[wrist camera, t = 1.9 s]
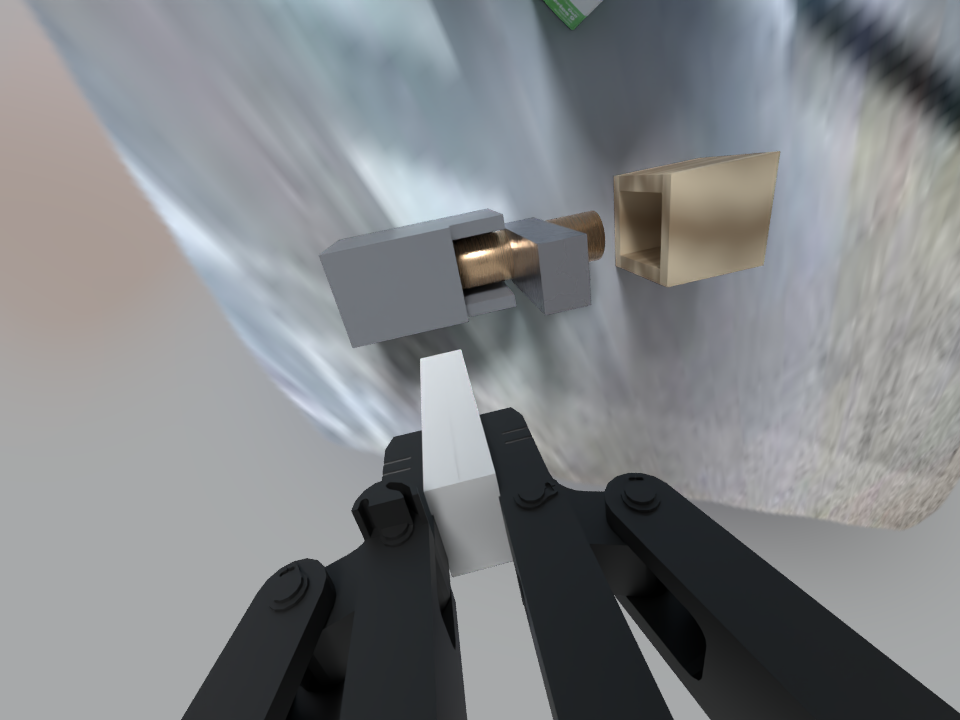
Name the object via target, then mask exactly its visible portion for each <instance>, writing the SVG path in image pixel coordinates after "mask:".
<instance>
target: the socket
mask: <svg viewBox="0 0 960 720" xmlns="http://www.w3.org/2000/svg"><path fill="white" fill-rule="evenodd" d="M779 157H780V151H777V152H765V153H753V154H741V155H729V156H717V157H705V158H697V159H692V160H687V161H682V162H678V163H673V164H668V165H663V166H659V167H654V168H649V169H644V170H640V171H635V172H630V173H625V174H620V175H616V176H614V215H615V257H616V266H617V267H620V268H622V269H625V270H627V271H629V272H632V273H634V274H636V275H639V276H641V277H644V278H646V279H648V280H651V281H653V282H655V283H658V284H660V285H663V286H665V287H671V286H676V285H680V284H684V283H689V282H693V281H698V280H702V279H706V278H711V277H715V276H719V275H724V274H728V273H732V272H737V271H741V270H746V269H750V268H754V267H759V266H763V265H764V258H765V252H766V245H767V238H768V231H769V224H770V218H771V211H772V204H773V197H774V191H775V184H776V177H777V170H778V163H779Z"/></svg>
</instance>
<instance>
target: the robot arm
mask: <svg viewBox="0 0 960 720" xmlns="http://www.w3.org/2000/svg"><path fill="white" fill-rule="evenodd" d="M420 377H421V415H422V430H421V431H417V432H413V433H408V434H404V435H400V436H396V437H393V439H392V440H391V442H390V444H389V445H388V447H387V448H386V450H385V457H384V467H383V477H382V481H381V482H378V483H375V484H374V485H372V486H371V487H369V488H368V489H366V490H365V491H364V492H363V493H362V494H361V495H360V496H359V497H358V499H357V500H356V501H355V503H354V506H353V508H352V510H351V511H352V513H353V516H354V518H355V520H356V522H357V524H358V526H359V529H360V531H361V533H362V535H363V537H364V540H365V541H364V543H363V544H362V545H361V546H359V548H357V549H356V550H354V551H353V552H351V553H350V554H348V555H347V556H345V557H343V558H341V559H339V560H337V561H335V562H334V563H332V564H330V565H328V566H326V567H324V566H323V565H322V564H321V563H320V562H319V561H318V560H313V559H308V558H306V559H302V560H298V561H294V562H292V563H290V564H288V565H286V566H284V567H282V568H281V569H279V570H278V571H277V572H276V573H275V574H274V575H272V576H271V577H270V578H269V579H268V580H267V581H266V582H265V584H264V585H263V586H262V587H261V589H260V590H259V591H258V593H257V594H256V596H255V598H254V599H253V601H252V603H251V604H250V606H249V608H248V609H247V611H246V613H245V614H244V616H243V618H242V619H241V621H240V623H239V624H238V626H237V628H236V629H235V631H234V633H233V635H232V636H231V638H230V639H229V641H228V643H227V644H226V646H225V648H224V649H223V651H222V653H221V654H220V656H219V658H218V659H217V661H216V663H215V664H214V666H213V668H212V669H211V671H210V673H209V675H208V676H207V678H206V679H205V681H204V683H203V684H202V686H201V688H200V689H199V691H198V693H197V694H196V696H195V698H194V699H193V701H192V703H191V704H190V706H189V708H188V709H187V711H186V713H185V714H184V716H183V717H182V719H181V720H467V713H466V703H465V694H464V683H463V673H462V663H461V654H460V642H459V632H458V624H457V623H458V622H457V612H456V602H455V599H454V596H453V592H452V590H451V586H450V575H449V569H450V572H451V575H452V577H456V576H460V575H463V574H467V573H471V572H475V571H478V570H482V569H486V568H489V567H493V566H497V565H500V564H504V563H508V562H512V561H513V562H514V565H515V570H516V574H517V578H518V583H519V588H520V592H521V597H522V602H523V605H524V606H525V611H526V614H527V619H528V622H529V626H530V630H531V634H532V638H533V642H534V646H535V650H536V654H537V658H538V662H539V666H540V669H541V673H542V677H543V681H544V685H545V689H546V692H547V697H548V701H549V705H550V709H551V713H552V717H553V720H674V719H673V717H672V715H671V713H670V711H669V709H668V707H667V705H666V703H665V700H664V698H663V697H662V694H661V692H660V690H659V688H658V686H657V684H656V682H655V680H654V678H653V676H652V673H651V671H650V670H649V667H648V665H647V663H646V661H645V659H644V657H643V655H642V653H641V651H640V648H639V647H638V644H637V642H636V640H635V638H634V636H633V634H632V632H631V630H630V628H629V626H628V624H627V621H626V619H625V617H624V615H623V613H622V611H621V609H620V607H619V605H618V603H617V601H616V599H615V596H616V598H617V599H618V601H619V602H620V603H621V604H622V606H623V607H624V608H625V610H626V611H627V612H628V614H629V615H630V616H631V617H632V619H633V620H634V621H635V623H636V624H637V625H638V626H639V628H640V629H641V630H642V632H643V633H644V634H645V635H646V637H647V638H648V639H649V641H650V642H651V643H652V644H653V646H654V647H655V648H656V650H657V651H658V652H659V653H660V655H661V656H662V657H663V659H664V660H665V661H666V662H667V664H668V665H669V666H670V668H671V669H672V670H673V672H674V673H675V674H676V675H677V677H678V678H679V679H680V681H681V682H682V683H683V684H684V686H685V687H686V688H687V690H688V691H689V692H690V694H691V695H692V696H693V697H694V698H695V700H696V701H697V703H698V704H699V705H700V706H701V708H702V709H703V710H704V712H705V713H706V714H707V716H708V717H709V718H710V719H711V720H960V713H959V712H957V711H956V710H955V709H954V708H952V707H951V706H950V705H948V704H947V703H946V702H945V701H943V700H942V699H941V698H939V697H938V696H937V695H936V694H934V693H933V692H932V691H931V690H929V689H928V688H927V687H925V686H924V685H923V684H922V683H920V682H919V681H918V680H916V679H915V678H914V677H913V676H911V675H910V674H909V673H908V672H906V671H905V670H904V669H902V668H901V667H900V666H898V665H897V664H896V663H895V662H894V661H892V660H891V659H889V658H888V657H887V656H886V655H885V654H883V653H882V652H881V651H880V650H878V649H877V648H876V647H874V646H873V645H872V644H871V643H869V642H868V641H867V640H866V639H864V638H863V637H862V636H860V635H859V634H858V633H856V632H855V631H854V630H853V629H851V628H850V627H849V626H848V625H846V624H845V623H844V622H843V621H841V620H840V619H839V618H838V617H836V616H835V615H833V614H832V613H831V612H830V611H829V610H827V609H826V608H825V607H823V606H822V605H821V604H819V603H818V602H817V601H816V600H815V599H813V598H812V597H811V596H809V595H808V594H807V593H806V592H804V591H803V590H802V589H800V588H799V587H798V586H797V585H795V584H794V583H793V582H792V581H790V580H789V579H788V578H787V577H785V576H784V575H783V574H781V573H780V572H779V571H777V570H776V569H775V568H774V567H772V566H771V565H770V564H769V563H767V562H766V561H765V560H763V559H762V558H761V557H759V556H758V555H757V554H756V553H755V552H753V551H752V550H751V549H749V548H748V547H747V546H746V545H744V544H743V543H742V542H741V541H739V540H738V539H737V538H735V537H734V536H733V535H732V534H730V533H729V532H728V531H727V530H725V529H724V528H723V527H722V526H720V525H719V524H718V523H716V522H715V521H714V520H712V519H711V518H710V517H709V516H707V515H706V514H705V513H704V512H702V511H701V510H700V509H698V508H697V507H696V506H695V505H693V504H692V503H691V502H689V501H688V500H687V499H686V498H685V497H683V496H682V495H681V494H679V493H678V492H677V491H676V490H674V489H673V488H672V487H671V486H669V485H668V484H667V483H665V482H663V481H662V480H660V479H658V478H656V477H654V476H650V475H647V474H643V473H627V474H623V475H620V476H617V477H615V478H614V479H613V480H611V481H610V482H609V483H608V485H607V487H606V489H605V491H604V492H596V491H595V492H592V491H589V492H588V491H576V490H573V489H569V488H566V487H564V486H562V485H561V484H559V483H558V482H557V481H556V480H555V479H553V478H552V476H551V475H550V473H549V472H548V470H547V467H546V465H545V463H544V461H543V459H542V457H541V454H540V452H539V450H538V448H537V446H536V444H535V441H534V439H533V438H532V435H531V433H530V431H529V429H528V427H527V424H526V422H525V420H524V418H523V416H522V415H521V414H520V413H519V412H517V411H516V410H514V409H513V408H511V407H510V408H506V409H502V410H498V411H494V412H490V413H485V414H481V415H479V412H478V409H477V405H476V401H475V398H474V394H473V391H472V387H471V383H470V380H469V376H468V373H467V369H466V365H465V362H464V358H463V355H462V351H461V349H460V350H456V351H451V352H447V353H443V354H438V355H434V356H430V357H425V358H421V359H420ZM614 595H615V596H614Z"/></svg>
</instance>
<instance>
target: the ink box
mask: <svg viewBox="0 0 960 720" xmlns="http://www.w3.org/2000/svg"><path fill="white" fill-rule="evenodd" d="M543 1H544V2H545V3H546V4H547V5H548V6H549V8H550V9H551V10H552V11H553V12H554V13H555V14H556V15H557V16H558V17H559V18H560V19H561V20H562V21H563V22H564V23H565V24H566V25H567V26H568V27H569V28H570V29H571V30H574V29H575V28H576V27H577V26H578V25H579V24H580V23H581V22H582V21H583V20H584V19H585V18H586V17H587V16H588V15H589V14H590V13H591V12H592V11H593V10H594V9H595V8H596V7H597V6H598V5H599V4H600V3H601V2H602V1H603V0H543Z"/></svg>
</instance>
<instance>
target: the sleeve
mask: <svg viewBox="0 0 960 720" xmlns="http://www.w3.org/2000/svg"><path fill="white" fill-rule="evenodd" d="M502 229H505V225H504V219H503V214H500V213H498V212H495V211H492V210H490V209H484V210H479V211H474V212H469V213H465V214H460V215H455V216H450V217H446V218H441V219H436V220H432V221H427V222H422V223H417V224H413V225H408V226H403V227H398V228H394V229H389V230H384V231H379V232H375V233H370V234H365V235H360V236H356V237H351V238H346V239H341V240H338V241H337V242H336V243H334V244H333V245H332V246H330V247H329V248H328V249H326V250H325V251H324V252H322V253H321V254H320V255H319V257H320V260H321V263H322V265H323V268H324V271H325V273H326V276H327V279H328V282H329V284H330V287H331V290H332V293H333V295H334V298H335V301H336V304H337V306H338V309H339V312H340V315H341V317H342V320H343V323H344V326H345V328H346V331H347V334H348V337H349V339H350V342H351V345H352V347H353V348H356V347H360V346H364V345H369V344H373V343H377V342H382V341H386V340H391V339H395V338H399V337H404V336H408V335H413V334H417V333H421V332H426V331H430V330H435V329H439V328H443V327H448V326H452V325H457V324H461V323H465V322H469V319H468V317H472V316H476V315H481V314H485V313H490V312H494V311H498V310H503V309H507V308H512V307H516V301H515V294H514V293H513V292H512V291H511V290H510V289H509V287H508V286H507V285H506V284H505V283H504V282H503V281H501V282H496V283H492V284H487V285H483V286H478V287H474V288H469V289H465V290H462V285H461V281H460V276H459V271H458V266H457V261H456V257H455V252H454V247H453V242H452V241H453V240H458V239H462V238H467V237H472V236H476V235H481V234H486V233H490V232H493V231H497V230H502Z"/></svg>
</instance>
